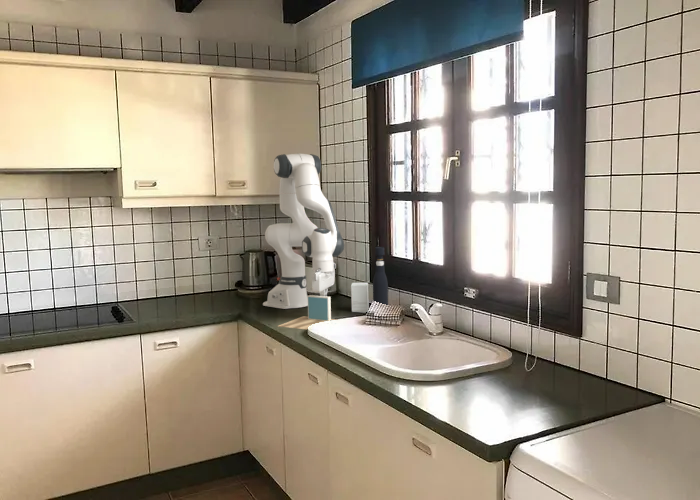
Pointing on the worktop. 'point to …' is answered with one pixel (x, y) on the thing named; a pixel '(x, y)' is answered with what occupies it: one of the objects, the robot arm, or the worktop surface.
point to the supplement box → (359, 297)
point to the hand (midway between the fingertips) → (323, 299)
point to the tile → (319, 308)
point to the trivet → (301, 323)
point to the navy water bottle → (380, 279)
